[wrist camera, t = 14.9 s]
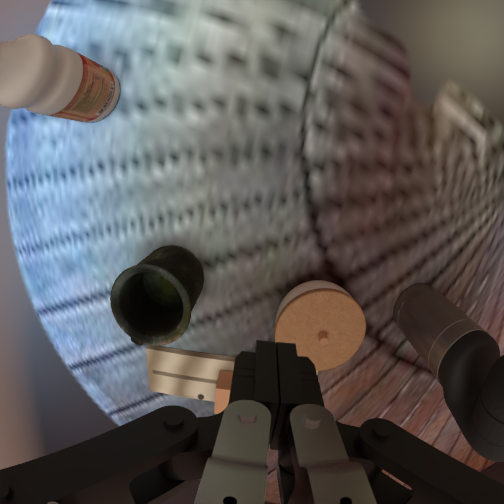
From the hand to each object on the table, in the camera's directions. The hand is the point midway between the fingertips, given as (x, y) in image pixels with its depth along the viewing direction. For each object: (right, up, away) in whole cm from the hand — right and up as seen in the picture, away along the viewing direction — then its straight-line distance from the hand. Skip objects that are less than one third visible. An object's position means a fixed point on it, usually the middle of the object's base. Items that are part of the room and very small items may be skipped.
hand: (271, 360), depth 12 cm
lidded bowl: (+9, -4, +37) cm, 39 cm away
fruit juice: (-26, +29, +30) cm, 49 cm away
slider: (-4, -19, +40) cm, 44 cm away
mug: (-14, -1, +37) cm, 40 cm away
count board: (-5, -18, +41) cm, 46 cm away
